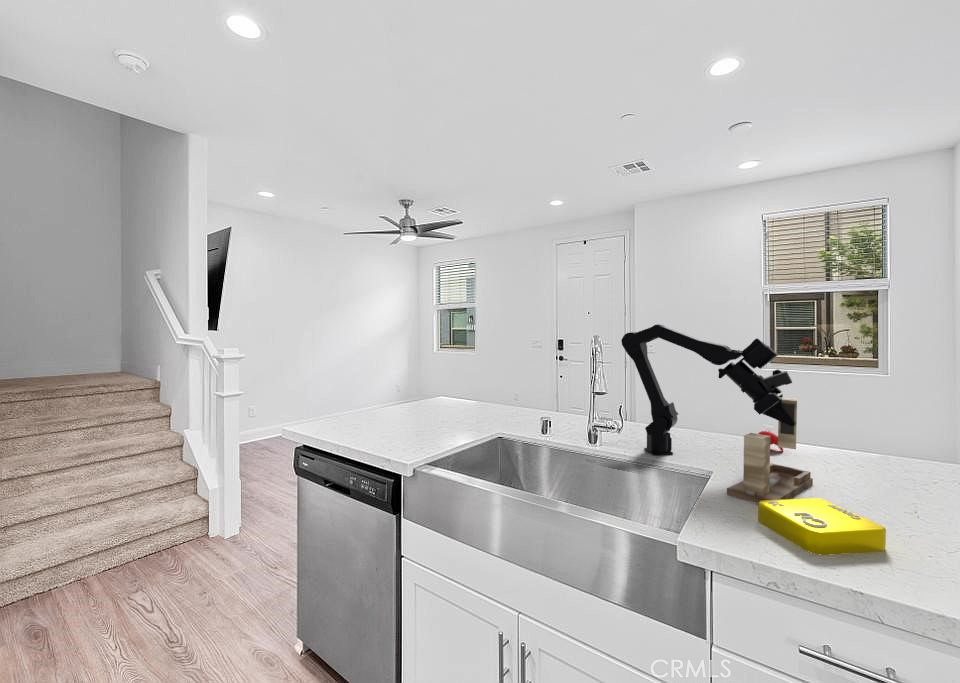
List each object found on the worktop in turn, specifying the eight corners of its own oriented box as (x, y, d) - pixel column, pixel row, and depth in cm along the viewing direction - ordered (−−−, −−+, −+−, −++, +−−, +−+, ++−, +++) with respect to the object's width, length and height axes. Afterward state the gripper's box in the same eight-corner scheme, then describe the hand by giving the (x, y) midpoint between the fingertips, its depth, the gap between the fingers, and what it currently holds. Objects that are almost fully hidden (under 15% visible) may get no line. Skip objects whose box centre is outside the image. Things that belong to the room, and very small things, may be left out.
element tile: (892, 553, 79) (892, 526, 79) (813, 558, 78) (814, 530, 78) (819, 517, 94) (820, 494, 94) (753, 520, 93) (753, 497, 93)
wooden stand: (774, 508, 98) (775, 442, 97) (726, 494, 106) (727, 433, 105) (812, 484, 112) (813, 426, 112) (768, 473, 120) (769, 420, 120)
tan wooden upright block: (778, 443, 124) (779, 397, 124) (795, 446, 122) (796, 398, 122) (777, 447, 120) (778, 399, 120) (795, 450, 118) (797, 401, 118)
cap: (754, 441, 141) (773, 433, 138) (752, 431, 146) (770, 423, 143) (769, 460, 142) (788, 453, 138) (766, 450, 147) (785, 443, 143)
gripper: (769, 363, 115) (822, 410, 109) (772, 358, 130) (819, 399, 124) (734, 390, 120) (783, 437, 114) (741, 383, 135) (784, 424, 129)
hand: (793, 423), depth 120 cm, fingers closed on tan wooden upright block, 5 cm apart
